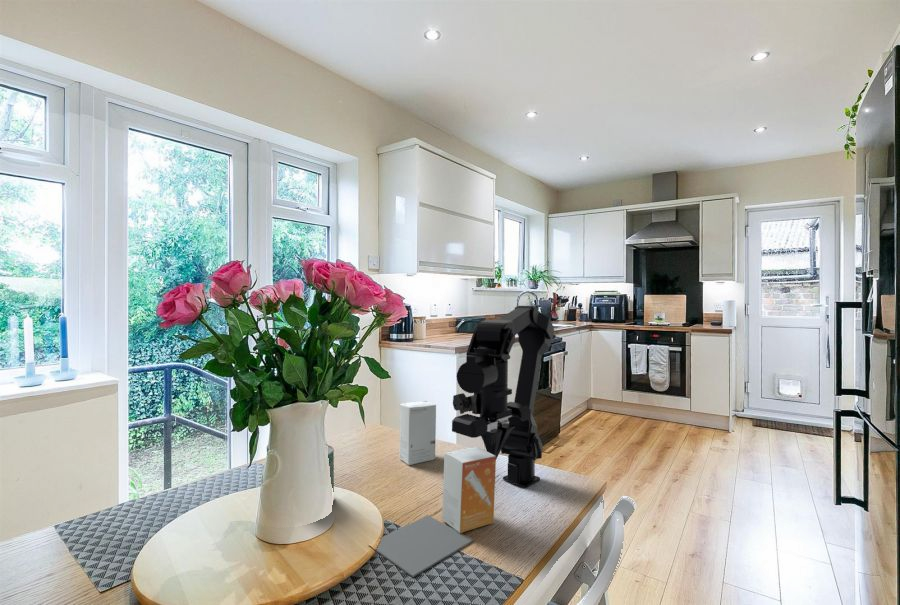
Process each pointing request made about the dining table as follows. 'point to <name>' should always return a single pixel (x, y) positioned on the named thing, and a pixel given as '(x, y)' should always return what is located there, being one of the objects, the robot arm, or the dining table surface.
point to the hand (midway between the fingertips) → (492, 460)
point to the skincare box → (417, 432)
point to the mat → (421, 545)
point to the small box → (468, 488)
